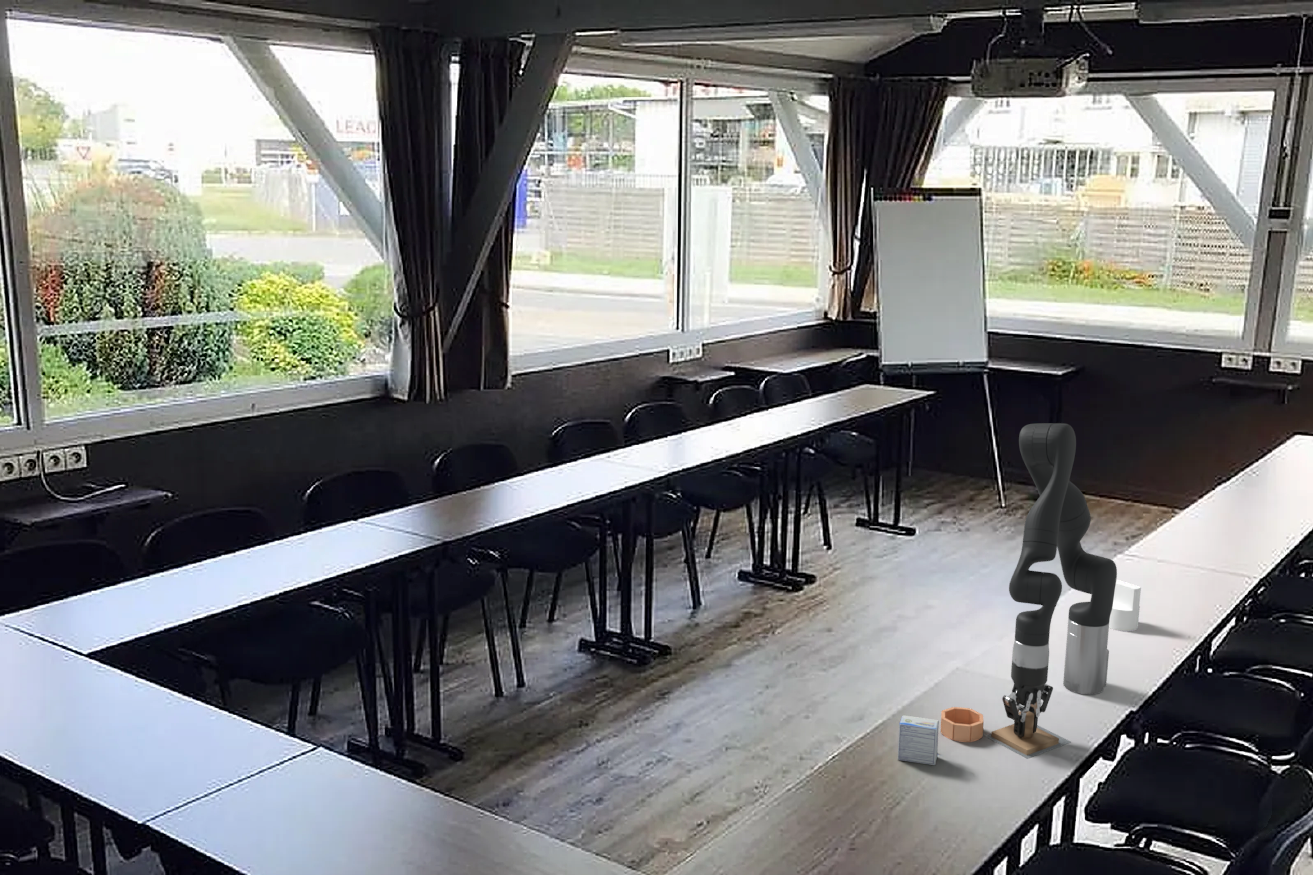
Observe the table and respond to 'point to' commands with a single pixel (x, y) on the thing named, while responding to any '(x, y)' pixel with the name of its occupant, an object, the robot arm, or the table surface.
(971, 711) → the bowl
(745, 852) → the table surface
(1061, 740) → the mat
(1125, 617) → the cylinder with rectangular tab
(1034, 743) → the lid
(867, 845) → the table surface
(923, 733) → the medicine box
